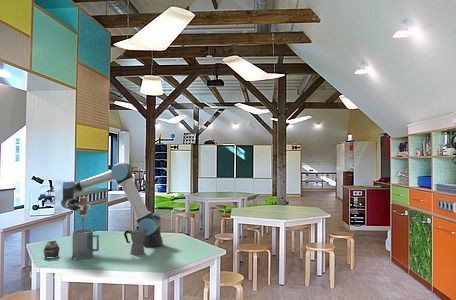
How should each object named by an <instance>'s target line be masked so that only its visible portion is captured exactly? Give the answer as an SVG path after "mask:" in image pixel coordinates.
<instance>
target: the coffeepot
mask: <svg viewBox="0 0 456 300" xmlns="http://www.w3.org/2000/svg"><path fill="white" fill-rule="evenodd" d="M147 232H148V231H146V230H141V229H139V227H138V225H137V226H136V229H132V230H131V229H130V230H125V231H124V233H123V235H124V239H125V241H126V243H127V244H130V243H131V242H132V244H131V248H130V252H129V254H130V255H132V256H140V255H141V256H142V255H144V254H145V252H146V251H145V247H144V246H143V240H144V236H145V234H146V233H147ZM128 234H130V237H131V241H129V238H128Z"/></svg>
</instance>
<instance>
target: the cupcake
mask: <svg viewBox="0 0 456 300" xmlns="http://www.w3.org/2000/svg"><path fill="white" fill-rule="evenodd" d="M59 253H60V246H59V244H58V242H57V241H56V240H52V241H47V243H46V244H45V246H44V248H43V256H45V257H56V256H58V257H59ZM45 257H44V258H45ZM56 258H57V257H56Z"/></svg>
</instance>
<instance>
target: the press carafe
mask: <svg viewBox="0 0 456 300" xmlns="http://www.w3.org/2000/svg"><path fill="white" fill-rule="evenodd" d="M84 231H88V233H77V232H82V229H79V230H75V231H74V230H73V231H72V253H71V254H72V255H71V258H72V259H73V258H75V260H85V259H86V258H87V259H91V258H93V257H94V252H99V251H100V235H98V234H94V230H90V229H84ZM94 238H96V248H94Z"/></svg>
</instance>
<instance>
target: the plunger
mask: <svg viewBox="0 0 456 300" xmlns="http://www.w3.org/2000/svg"><path fill="white" fill-rule="evenodd" d="M87 199H88V197H87V196H81V197H79V198H78V200H79V201H80V205H82V206H83V210H79V214H78V215H77V217H79V218H80V217H81V230H82V232H77V233H88V231H84V230H85V217H86V218H87V217H88V216H89V213H87V209H86V203H87Z"/></svg>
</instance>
